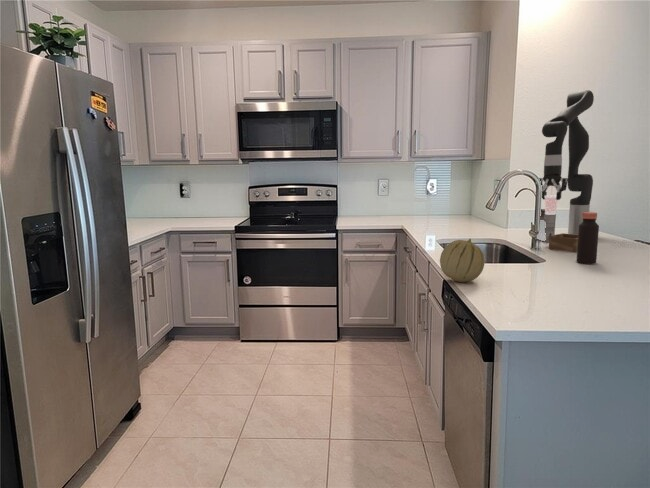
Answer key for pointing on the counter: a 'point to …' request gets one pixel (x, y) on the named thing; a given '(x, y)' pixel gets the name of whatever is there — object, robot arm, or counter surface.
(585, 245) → the bottle
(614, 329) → the counter surface
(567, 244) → the wooden square frame
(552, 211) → the beverage cup
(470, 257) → the cantaloupe
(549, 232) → the coffee box
